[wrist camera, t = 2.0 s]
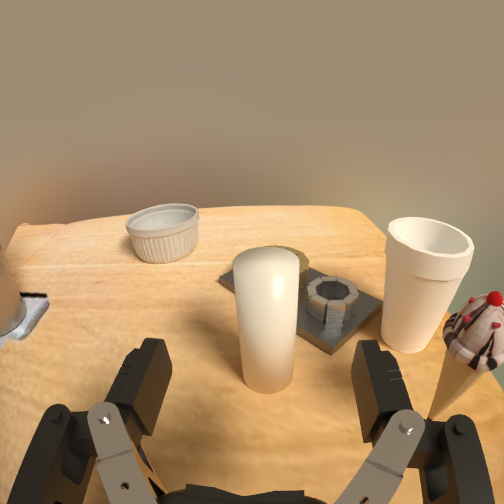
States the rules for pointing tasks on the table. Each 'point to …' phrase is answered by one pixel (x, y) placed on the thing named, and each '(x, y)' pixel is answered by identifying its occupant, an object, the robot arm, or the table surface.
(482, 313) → the ice cream cone
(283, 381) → the white rounded cylinder
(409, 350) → the foam cup
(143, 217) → the ramekin
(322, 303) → the grey ring holder base
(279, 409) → the table surface
